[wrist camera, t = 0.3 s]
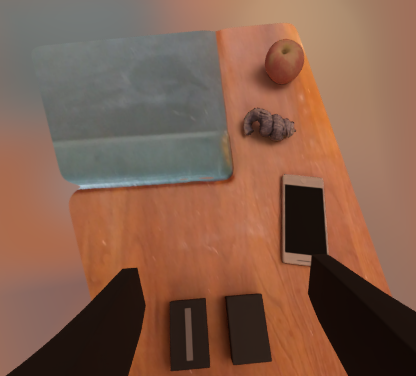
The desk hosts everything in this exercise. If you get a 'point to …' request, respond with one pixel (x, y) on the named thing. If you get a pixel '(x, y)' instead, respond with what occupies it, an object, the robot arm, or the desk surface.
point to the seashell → (269, 124)
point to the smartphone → (303, 219)
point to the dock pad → (189, 335)
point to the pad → (247, 329)
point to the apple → (284, 61)
